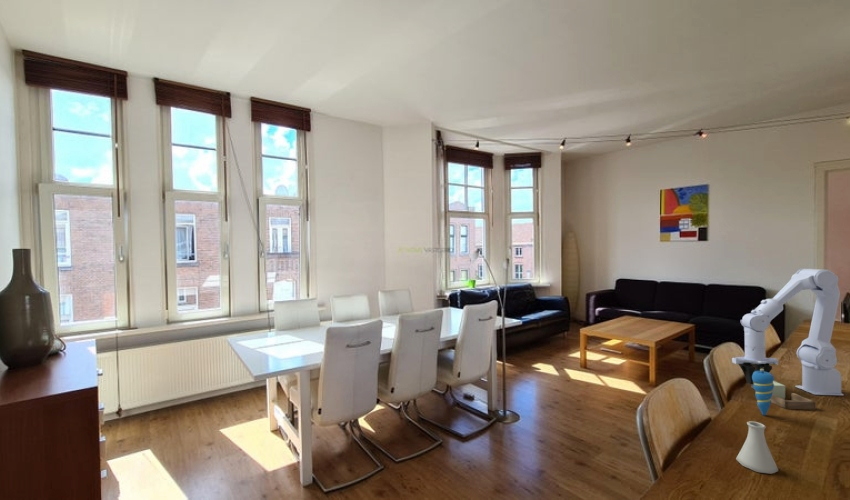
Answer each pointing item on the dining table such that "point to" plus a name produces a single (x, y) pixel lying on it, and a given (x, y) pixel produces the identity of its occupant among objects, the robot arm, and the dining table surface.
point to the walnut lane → (794, 402)
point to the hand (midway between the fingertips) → (755, 383)
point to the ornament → (763, 389)
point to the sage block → (777, 389)
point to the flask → (756, 451)
